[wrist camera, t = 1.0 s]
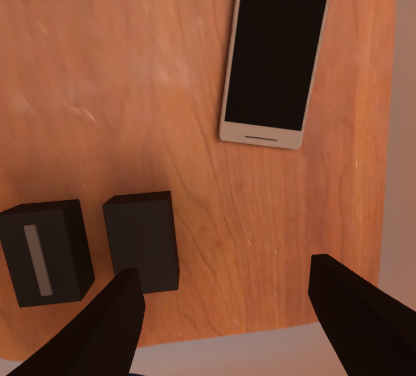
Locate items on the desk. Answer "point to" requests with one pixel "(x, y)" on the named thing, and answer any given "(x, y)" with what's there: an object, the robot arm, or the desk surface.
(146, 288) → the pad
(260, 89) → the smartphone
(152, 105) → the desk surface
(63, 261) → the pad
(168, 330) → the desk surface
